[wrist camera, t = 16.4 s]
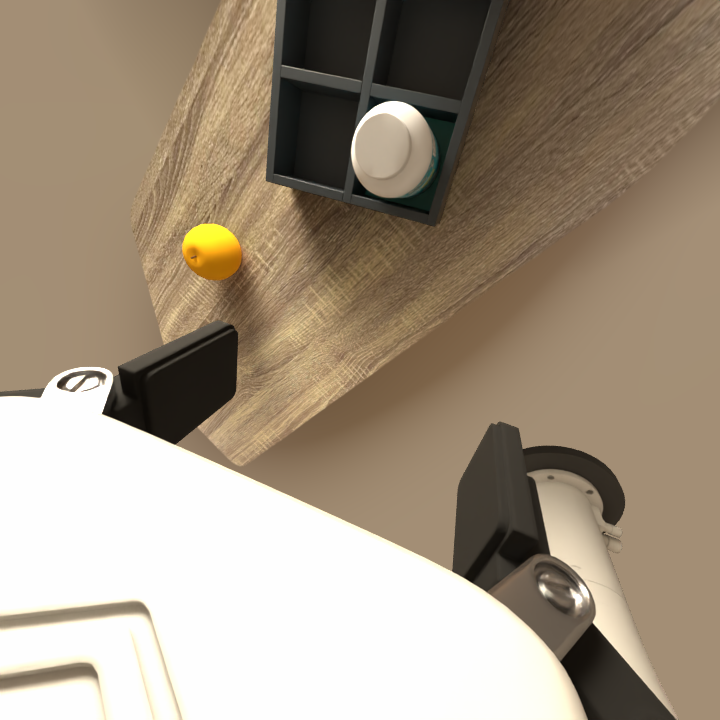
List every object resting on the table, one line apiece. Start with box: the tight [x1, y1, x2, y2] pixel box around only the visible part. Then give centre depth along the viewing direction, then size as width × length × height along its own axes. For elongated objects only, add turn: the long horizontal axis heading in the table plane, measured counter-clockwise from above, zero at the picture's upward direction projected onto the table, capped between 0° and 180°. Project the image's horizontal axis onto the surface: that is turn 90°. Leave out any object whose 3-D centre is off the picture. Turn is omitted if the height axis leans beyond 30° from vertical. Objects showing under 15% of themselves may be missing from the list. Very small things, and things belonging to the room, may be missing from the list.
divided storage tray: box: [266, 0, 510, 226], centre depth 35 cm, size 21×21×6 cm
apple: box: [183, 224, 242, 280], centre depth 49 cm, size 8×8×8 cm
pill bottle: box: [351, 101, 440, 198], centre depth 33 cm, size 8×7×14 cm
